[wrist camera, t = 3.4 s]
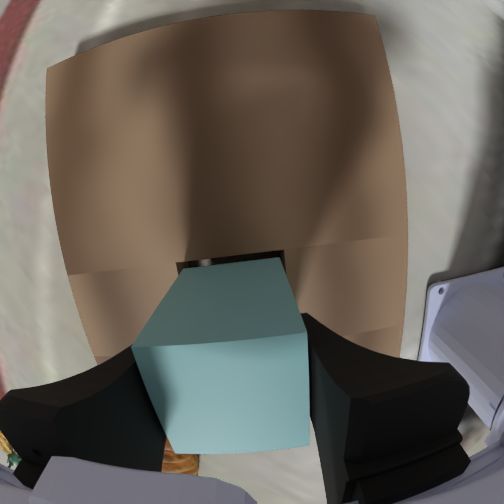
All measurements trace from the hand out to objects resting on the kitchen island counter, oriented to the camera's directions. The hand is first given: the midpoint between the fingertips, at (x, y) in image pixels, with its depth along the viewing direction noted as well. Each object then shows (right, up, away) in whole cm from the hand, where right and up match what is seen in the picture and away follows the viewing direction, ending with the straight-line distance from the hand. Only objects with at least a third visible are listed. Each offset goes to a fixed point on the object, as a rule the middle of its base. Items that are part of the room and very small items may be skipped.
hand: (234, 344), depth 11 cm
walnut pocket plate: (-1, +6, +5) cm, 8 cm away
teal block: (0, +1, +3) cm, 3 cm away
